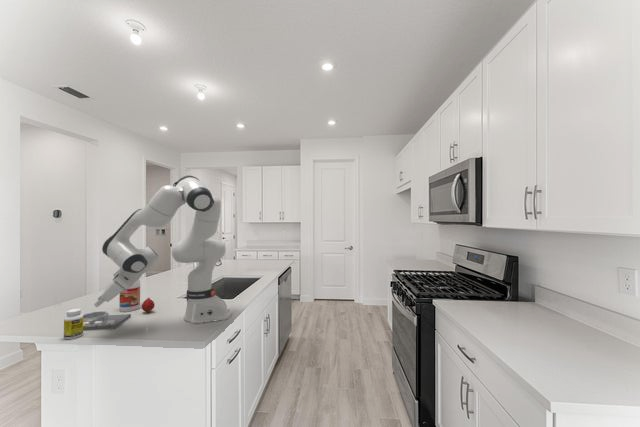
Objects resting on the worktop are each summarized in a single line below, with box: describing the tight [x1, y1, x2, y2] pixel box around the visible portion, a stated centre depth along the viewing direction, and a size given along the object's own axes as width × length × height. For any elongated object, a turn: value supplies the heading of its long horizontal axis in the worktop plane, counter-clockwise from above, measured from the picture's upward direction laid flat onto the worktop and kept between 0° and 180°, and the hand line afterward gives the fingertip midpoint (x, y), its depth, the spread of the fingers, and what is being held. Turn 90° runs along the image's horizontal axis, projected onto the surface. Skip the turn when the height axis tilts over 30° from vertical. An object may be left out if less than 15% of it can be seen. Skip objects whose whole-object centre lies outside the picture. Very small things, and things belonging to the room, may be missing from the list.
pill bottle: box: [63, 308, 84, 340], centre depth 121 cm, size 6×6×11 cm
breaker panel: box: [83, 313, 132, 331], centre depth 136 cm, size 18×15×3 cm
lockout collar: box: [82, 310, 109, 324], centre depth 136 cm, size 10×10×2 cm
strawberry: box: [141, 297, 155, 314], centre depth 151 cm, size 6×6×8 cm
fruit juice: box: [119, 278, 141, 313], centre depth 157 cm, size 9×9×28 cm
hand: (97, 302), depth 125 cm, fingers open, 8 cm apart
